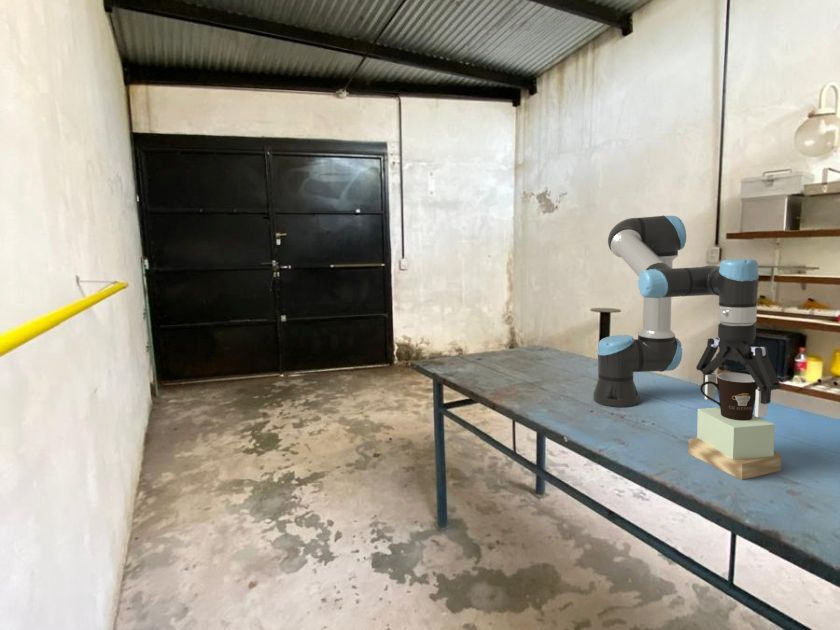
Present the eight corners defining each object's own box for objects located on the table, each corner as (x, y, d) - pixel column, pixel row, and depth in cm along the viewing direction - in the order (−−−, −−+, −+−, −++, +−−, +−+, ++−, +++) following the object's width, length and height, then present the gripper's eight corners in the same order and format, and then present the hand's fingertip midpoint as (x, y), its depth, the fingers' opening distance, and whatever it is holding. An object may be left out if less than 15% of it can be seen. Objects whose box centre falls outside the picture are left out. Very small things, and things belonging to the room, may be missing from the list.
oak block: (688, 453, 120) (688, 439, 119) (724, 446, 123) (724, 432, 122) (741, 479, 105) (742, 463, 105) (780, 470, 108) (781, 455, 108)
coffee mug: (759, 414, 113) (761, 375, 111) (755, 425, 107) (756, 384, 105) (705, 405, 121) (706, 369, 119) (698, 415, 114) (699, 377, 113)
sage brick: (697, 437, 120) (697, 408, 119) (733, 434, 120) (734, 406, 119) (732, 459, 107) (733, 427, 106) (773, 456, 107) (774, 424, 106)
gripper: (682, 318, 120) (680, 394, 123) (777, 332, 96) (773, 426, 99) (704, 315, 122) (702, 390, 125) (803, 329, 98) (798, 421, 101)
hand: (733, 406), depth 112 cm, fingers open, 13 cm apart
